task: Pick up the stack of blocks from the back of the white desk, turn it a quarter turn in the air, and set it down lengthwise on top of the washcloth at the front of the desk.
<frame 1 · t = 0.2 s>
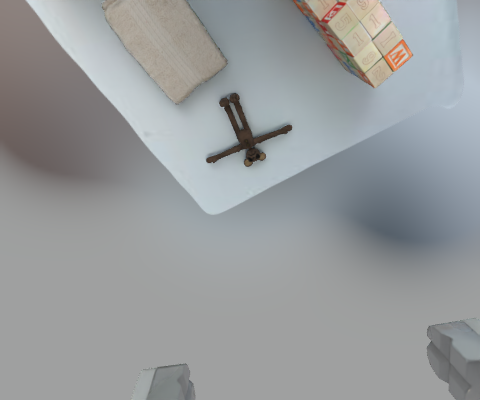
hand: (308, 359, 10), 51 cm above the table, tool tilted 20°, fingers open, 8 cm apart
washcloth: (168, 36, 50), on the table
stack of blocks: (324, 7, 49), on the table
brown toy monkey: (242, 129, 60), on the table
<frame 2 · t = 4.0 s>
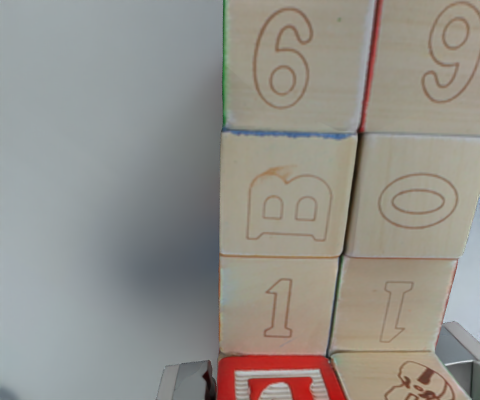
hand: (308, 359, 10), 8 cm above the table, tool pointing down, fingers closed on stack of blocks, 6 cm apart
stack of blocks: (276, 252, 18), on the table, touching gripper
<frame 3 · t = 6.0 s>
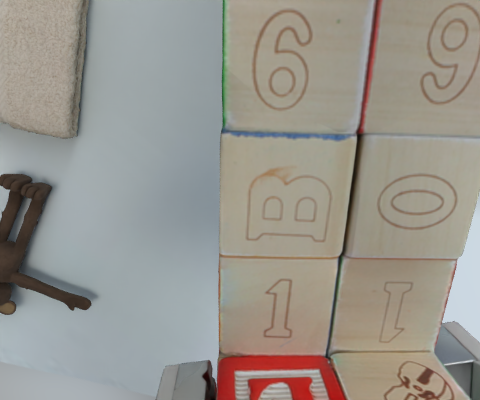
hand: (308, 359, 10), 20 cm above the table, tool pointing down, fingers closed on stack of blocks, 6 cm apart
washcloth: (21, 18, 25), on the table
stack of blocks: (276, 253, 18), point 13 cm above the table, touching gripper
brown toy monkey: (19, 241, 31), on the table
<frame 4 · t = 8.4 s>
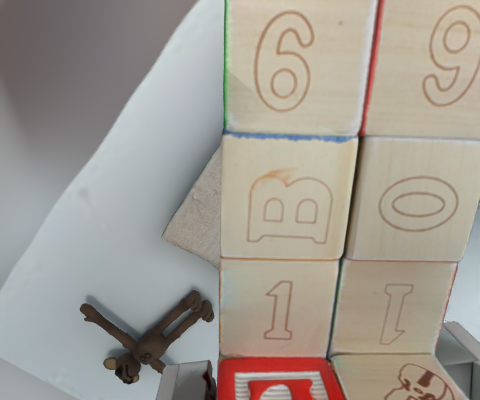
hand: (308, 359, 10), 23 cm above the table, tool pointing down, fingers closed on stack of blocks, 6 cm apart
washcloth: (254, 193, 33), on the table
stack of blocks: (276, 253, 18), point 15 cm above the table, touching gripper
brown toy monkey: (161, 330, 37), on the table
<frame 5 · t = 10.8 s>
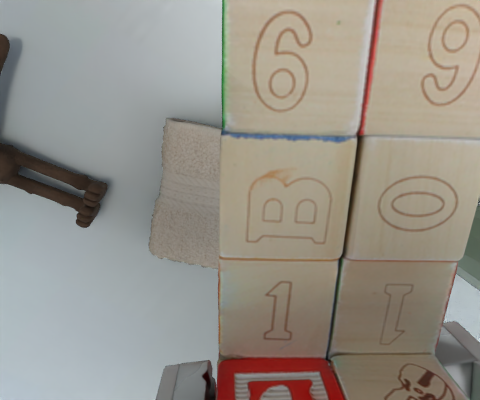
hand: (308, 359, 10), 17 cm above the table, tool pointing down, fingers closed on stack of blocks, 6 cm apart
washcloth: (261, 205, 27), on the table
stack of blocks: (276, 253, 18), point 9 cm above the table, touching gripper
brown toy monkey: (22, 163, 25), on the table
when the fingers open (11 cm above the table, at t = 12.9 s): stack of blocks stays where it is, resting on washcloth.
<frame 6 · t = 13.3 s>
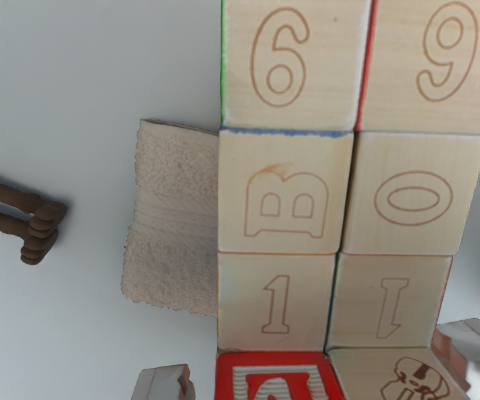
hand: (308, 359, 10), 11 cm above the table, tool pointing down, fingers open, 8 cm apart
washcloth: (267, 231, 21), on the table, touching stack of blocks
stack of blocks: (275, 251, 18), point 3 cm above the table, touching washcloth
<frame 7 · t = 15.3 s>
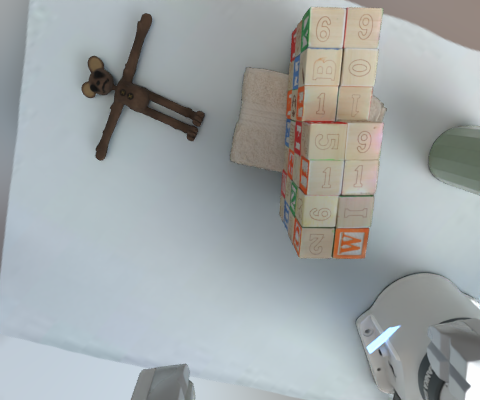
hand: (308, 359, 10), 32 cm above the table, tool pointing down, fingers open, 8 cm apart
pencil cup: (457, 155, 41), on the table
washcloth: (303, 130, 40), on the table, touching stack of blocks
stack of blocks: (309, 131, 37), point 3 cm above the table, touching washcloth
brown toy monkey: (147, 101, 39), on the table
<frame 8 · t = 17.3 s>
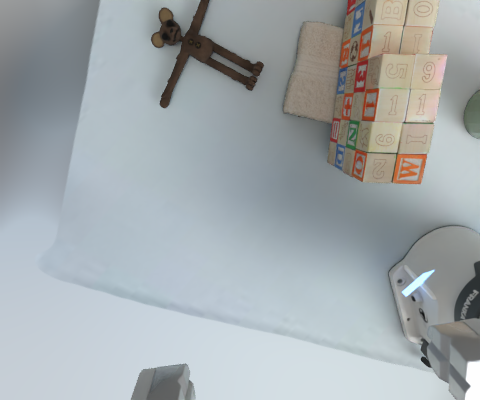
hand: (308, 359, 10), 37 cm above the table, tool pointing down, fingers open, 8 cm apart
washcloth: (350, 85, 43), on the table, touching stack of blocks
stack of blocks: (359, 83, 40), point 3 cm above the table, touching washcloth
brown toy monkey: (208, 54, 42), on the table
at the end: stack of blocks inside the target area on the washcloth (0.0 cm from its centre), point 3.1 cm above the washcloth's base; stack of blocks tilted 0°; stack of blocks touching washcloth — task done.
